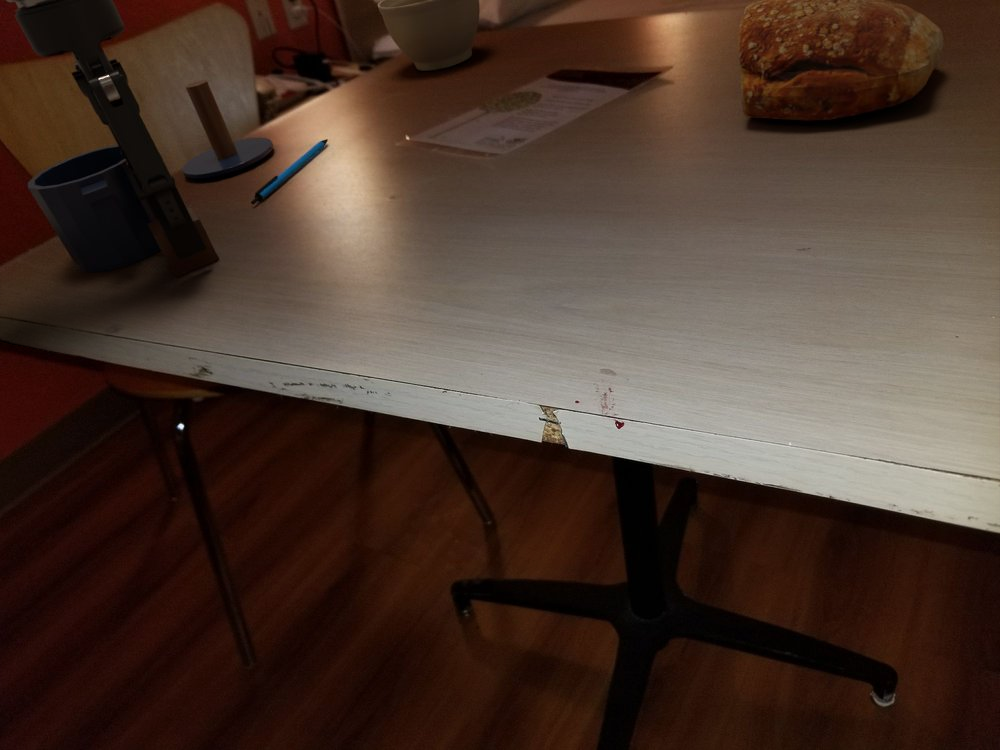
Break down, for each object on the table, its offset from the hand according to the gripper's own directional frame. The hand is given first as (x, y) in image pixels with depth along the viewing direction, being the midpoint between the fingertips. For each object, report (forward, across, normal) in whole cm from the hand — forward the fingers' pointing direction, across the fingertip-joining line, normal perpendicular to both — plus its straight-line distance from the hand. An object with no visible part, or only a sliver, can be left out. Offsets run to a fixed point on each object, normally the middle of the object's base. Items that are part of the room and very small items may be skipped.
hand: (183, 239), depth 73 cm
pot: (+2, +11, +5) cm, 13 cm away
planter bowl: (+3, +40, -51) cm, 65 cm away
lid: (+2, +28, -11) cm, 30 cm away
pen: (+3, +14, -16) cm, 21 cm away
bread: (+2, -26, -63) cm, 68 cm away
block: (+2, -1, 0) cm, 2 cm away
